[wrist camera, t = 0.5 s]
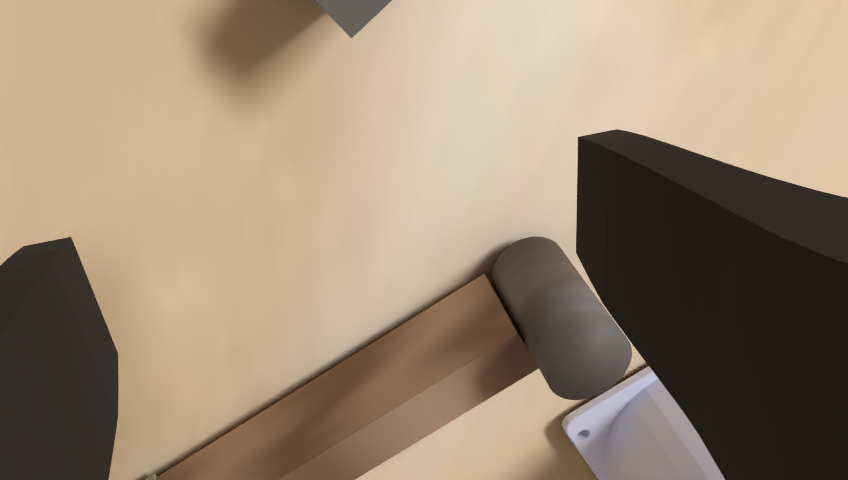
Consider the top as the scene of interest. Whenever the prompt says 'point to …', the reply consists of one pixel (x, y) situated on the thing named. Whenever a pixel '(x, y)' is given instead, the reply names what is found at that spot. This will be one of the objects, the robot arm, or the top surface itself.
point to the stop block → (352, 12)
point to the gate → (430, 374)
